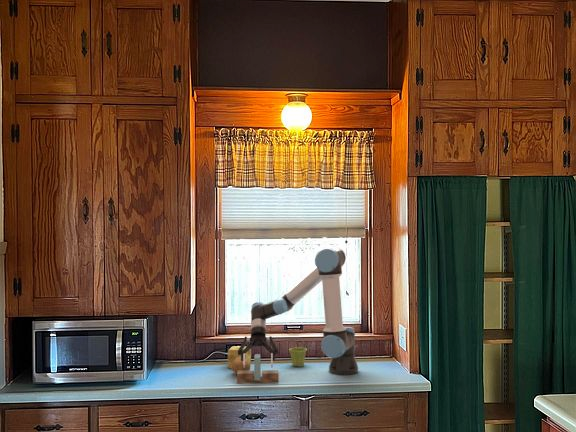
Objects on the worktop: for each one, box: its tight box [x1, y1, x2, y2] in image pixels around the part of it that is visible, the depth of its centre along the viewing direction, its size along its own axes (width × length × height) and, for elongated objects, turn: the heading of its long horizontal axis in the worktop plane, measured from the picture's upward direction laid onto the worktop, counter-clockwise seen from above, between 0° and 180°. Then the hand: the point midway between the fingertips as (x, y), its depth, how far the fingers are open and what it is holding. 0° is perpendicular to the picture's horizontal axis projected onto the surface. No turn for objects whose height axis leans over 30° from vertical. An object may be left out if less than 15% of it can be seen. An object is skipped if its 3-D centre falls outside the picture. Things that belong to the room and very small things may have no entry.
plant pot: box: [288, 347, 308, 368], centre depth 353 cm, size 9×9×9 cm
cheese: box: [227, 345, 252, 369], centre depth 352 cm, size 10×11×10 cm
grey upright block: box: [253, 353, 262, 380], centre depth 321 cm, size 8×3×11 cm, turn 1°
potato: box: [231, 357, 251, 375], centre depth 335 cm, size 10×14×8 cm
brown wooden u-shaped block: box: [236, 369, 280, 384], centre depth 321 cm, size 20×6×4 cm, turn 91°
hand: (258, 366), depth 320 cm, fingers open, 13 cm apart
